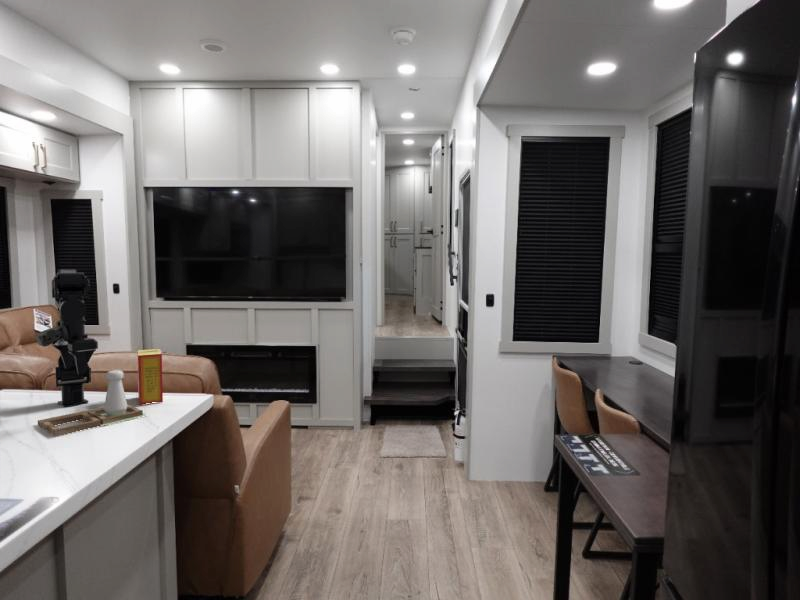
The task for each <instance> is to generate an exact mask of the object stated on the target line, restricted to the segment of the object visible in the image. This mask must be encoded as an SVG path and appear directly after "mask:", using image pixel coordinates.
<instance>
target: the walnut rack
mask: <svg viewBox="0 0 800 600" xmlns="http://www.w3.org/2000/svg"><path fill="white" fill-rule="evenodd" d="M126 411H129V413H125V414H120V415H116V416H111V417H107V418H106V417H104V416H102V414H106V413H105V411H104V406H100V407H97V408H91V409H86V410H81V411H78V412H71V413H68V414H63V415H59V416H54V417H48V418H44V419H43V418H42V419H38V420H37V426H39V427H40V428H42V429H43V428H44V429H43V430H45V431H46V430H47V431H46V432H48V433H49V432H50V433H49V434H51V435H52V434H53V435H52V436H54V437H55V438H57V437H61V436H64V434H65V435H69V434H68V433H70V434H73V433H72V432H74V433H76V431H78V432H81V431H80V430H82V431H85V430H84V429H86V430H89V429H88V428H91V429H94V428H93V427H95V428H98V427H97V426H99V427H100V425H101V424H107V423H111V422H116V421H120V420H124V419H128V418H133V417H137V416H141V415H143V413H144V412H143V410H142V409H140V408H138V407H135V406H133V405H131V404H128V403H127V409H126ZM80 419H83V420H82V421H84V420H85V421H84V422H82V423H78V424H71V425H67V426H64V427H63V426H62V427H60V428H59V427H57V426H59V425H58V424H61V425H64V424H63V423H66V424H68V423H67V422H70V423H73V422H72V421H75V422H77V421H76V420H79V421H81V420H80ZM86 421H87V422H86ZM55 425H57V426H55ZM60 435H61V436H60ZM56 436H57V437H56Z"/></svg>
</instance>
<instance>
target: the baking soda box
mask: <svg viewBox="0 0 800 600" xmlns="http://www.w3.org/2000/svg"><path fill="white" fill-rule="evenodd" d="M136 351H137V355H136V356H137V383H138V384H137V388H138V391H137V392H138V405H139V406H143V405H142V404H146V403H152V402H163V403H164V401H163V400H164V399H163V398H164V397H163V396H164V395H163V393H164V392H163V357H162V356H163V355H162V351H161V349H160V348H151V349H150V348H149V349H139V350H136Z"/></svg>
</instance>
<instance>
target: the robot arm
mask: <svg viewBox="0 0 800 600" xmlns="http://www.w3.org/2000/svg"><path fill="white" fill-rule="evenodd" d="M89 295H91V282H90V279H89V277H88V276H85V273H84V272H78V269H74V268H72V269H70V268H69V269H68V268H63V269H62V268H61V269H58V270H57V273H56V275H55V276H53V279H52V280H51V298H52V299H54V305H55V306H56V307H57V309H58V310H59V320H57V321H56V322H55V324H56V325H55V326H53V327H50V328H48V329H45V330H42V331H40V332H37V333H35V334H34V338H35V339H36V342H37V343H38V345H39V346H42V347H48V346H50V345H51V347H52V348H54V349H56V350H57V351H58V352H59V355H60V356H59V357H58V359H57V366H55V374H54V375H55V386H56V387H57V388H59V387H61V391H60V392H61V400H58V401H57V404H58V405H61V406H62V407H65V408H66V407H67V408H68V407H72V406H78V405H81V404H87V403H89V400H88V399H85V392H84V391H85V390H84V385H85V384H90V383H91V382H92V368H91V367H90V365H89V362H90V360H91V358H92V356H93V355H94V352H96V350H97V349H98V348H99V342H98V341H97V340H96V339H94V338H92V337H88V334H87V333H86V331H85V326H86V325H87V324H88V320H86V319H85V315H86V313H87V307H86V304H85V302H84V301H85V300H84V299H83V298H89V297H90V296H89ZM56 387H55V388H56Z"/></svg>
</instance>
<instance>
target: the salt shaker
mask: <svg viewBox="0 0 800 600" xmlns="http://www.w3.org/2000/svg"><path fill="white" fill-rule="evenodd" d="M124 375H125V374H124V371H123V370H120V369H114V370H110V371H107V372H106V374H105V379H106V380H107V381H108V385H107V389H106V396H105V400H104V405H103V407H104V411H105V413H106V415H107V416H108V417H111V416H116V415H120V414H125V412H126V409H127V404H128V403H127V399H126V394H125V389H124V384H123V381H122V379H123V378H124Z"/></svg>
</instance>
